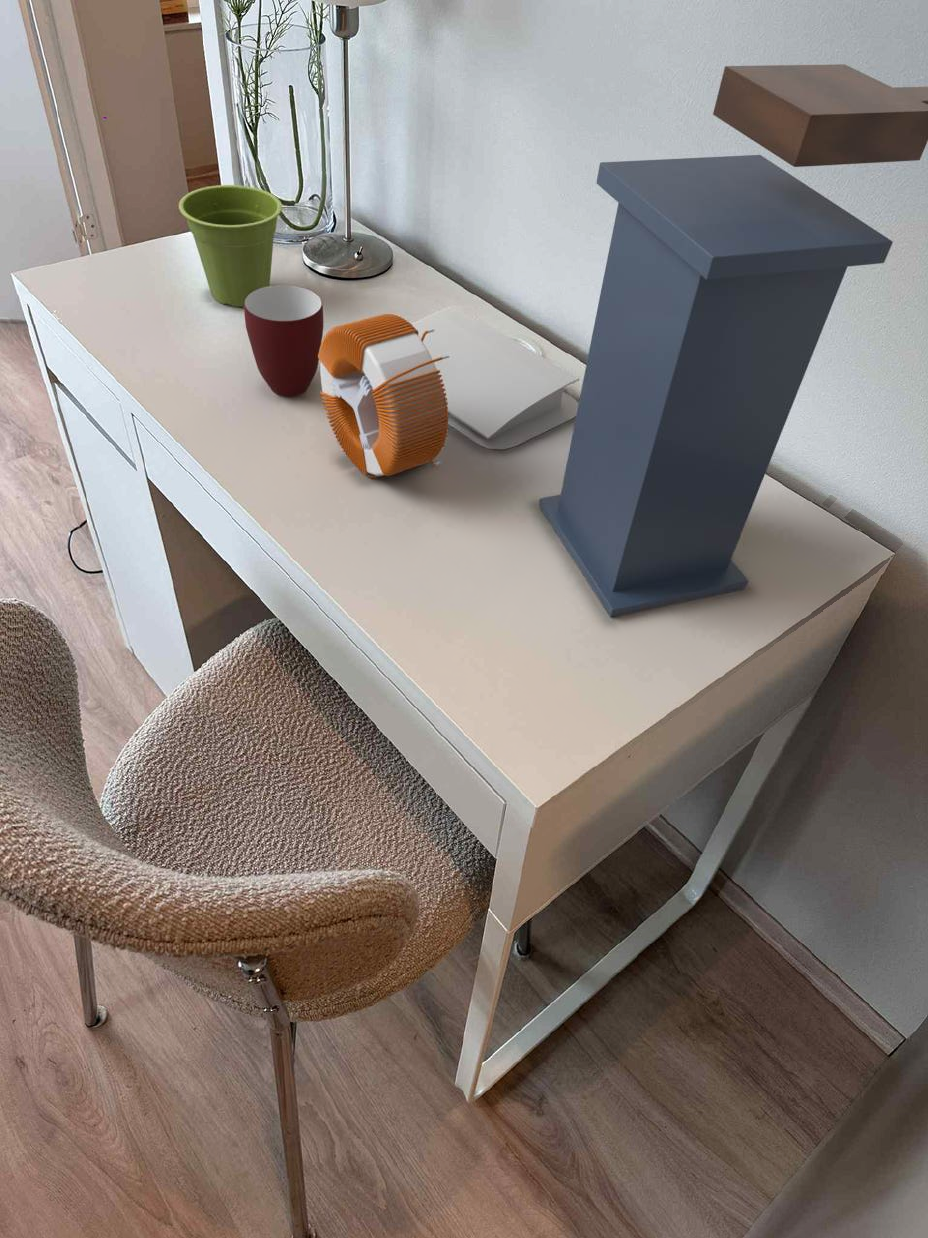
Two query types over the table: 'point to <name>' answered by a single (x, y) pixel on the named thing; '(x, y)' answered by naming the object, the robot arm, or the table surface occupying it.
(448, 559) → the table surface
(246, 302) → the mug
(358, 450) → the coil
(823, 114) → the paddle
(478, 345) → the book
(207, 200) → the plant pot
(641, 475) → the blue tapered column stand
